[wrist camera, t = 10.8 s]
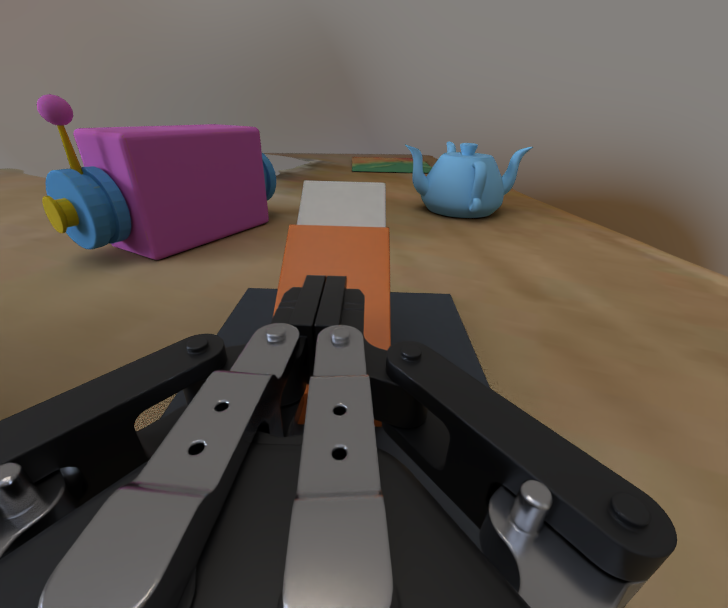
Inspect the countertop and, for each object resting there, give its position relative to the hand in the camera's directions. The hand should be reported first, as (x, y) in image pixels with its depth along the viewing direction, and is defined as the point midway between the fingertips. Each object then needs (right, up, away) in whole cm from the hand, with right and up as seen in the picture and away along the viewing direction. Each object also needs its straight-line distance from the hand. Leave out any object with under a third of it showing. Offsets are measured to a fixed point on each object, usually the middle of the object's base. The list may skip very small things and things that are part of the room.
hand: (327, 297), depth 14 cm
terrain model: (+9, +40, +89) cm, 98 cm away
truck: (0, -5, +2) cm, 5 cm away
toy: (-20, +9, +32) cm, 39 cm away
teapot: (+17, +16, +46) cm, 52 cm away
